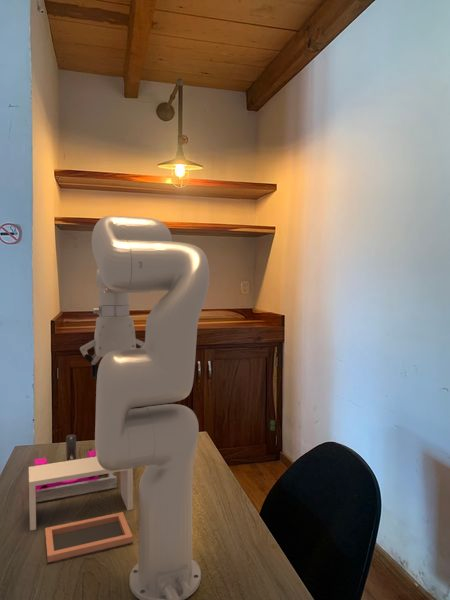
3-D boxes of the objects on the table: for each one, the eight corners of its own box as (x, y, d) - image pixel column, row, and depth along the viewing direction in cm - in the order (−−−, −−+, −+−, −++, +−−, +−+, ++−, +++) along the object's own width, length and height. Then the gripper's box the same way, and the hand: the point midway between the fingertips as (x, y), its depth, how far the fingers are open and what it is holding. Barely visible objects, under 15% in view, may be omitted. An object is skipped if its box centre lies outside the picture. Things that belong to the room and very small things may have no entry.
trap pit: (132, 543, 91) (132, 536, 91) (47, 563, 85) (47, 556, 84) (122, 518, 100) (122, 511, 100) (45, 535, 94) (45, 528, 94)
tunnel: (132, 509, 104) (132, 464, 103) (30, 530, 95) (29, 482, 94) (125, 493, 111) (125, 451, 111) (29, 511, 102) (28, 466, 102)
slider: (116, 487, 113) (116, 454, 113) (36, 502, 106) (36, 466, 105) (104, 459, 130) (104, 430, 130) (35, 470, 123) (34, 439, 122)
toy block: (35, 499, 108) (35, 469, 108) (35, 488, 114) (34, 459, 114) (99, 487, 114) (99, 459, 114) (96, 477, 120) (95, 450, 120)
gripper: (81, 314, 109) (82, 384, 110) (151, 311, 116) (151, 377, 117) (77, 311, 116) (78, 377, 117) (143, 310, 123) (144, 372, 124)
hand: (115, 377), depth 117 cm, fingers open, 9 cm apart
